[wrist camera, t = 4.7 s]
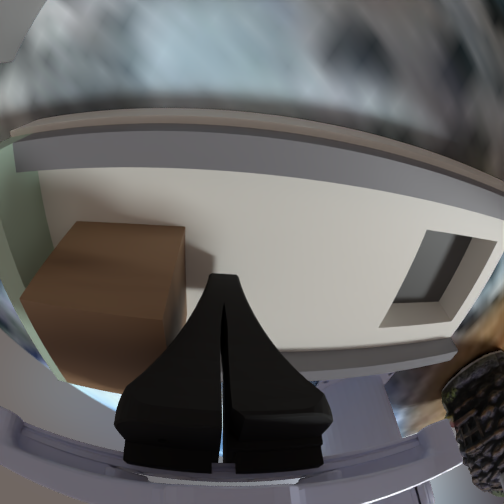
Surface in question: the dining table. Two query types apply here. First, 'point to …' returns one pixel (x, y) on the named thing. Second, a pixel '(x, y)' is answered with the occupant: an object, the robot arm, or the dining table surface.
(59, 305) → the walnut block
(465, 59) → the dining table surface
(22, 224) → the trap channel
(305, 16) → the dining table surface
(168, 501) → the robot arm
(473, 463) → the pine cone
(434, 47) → the dining table surface
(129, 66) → the dining table surface
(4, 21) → the lighter
